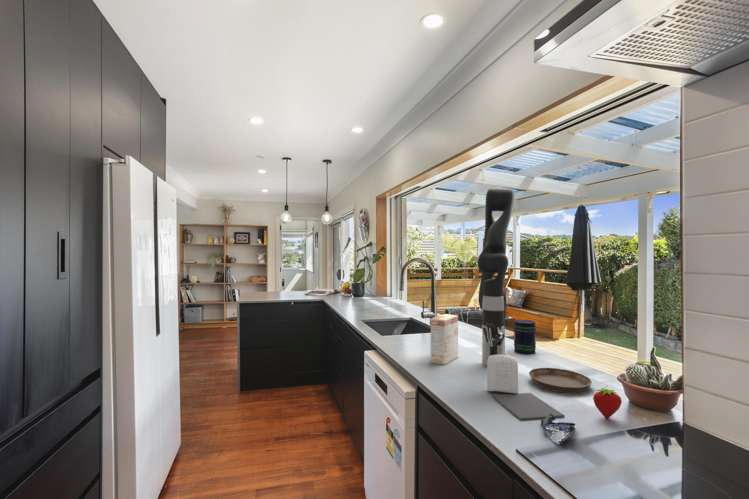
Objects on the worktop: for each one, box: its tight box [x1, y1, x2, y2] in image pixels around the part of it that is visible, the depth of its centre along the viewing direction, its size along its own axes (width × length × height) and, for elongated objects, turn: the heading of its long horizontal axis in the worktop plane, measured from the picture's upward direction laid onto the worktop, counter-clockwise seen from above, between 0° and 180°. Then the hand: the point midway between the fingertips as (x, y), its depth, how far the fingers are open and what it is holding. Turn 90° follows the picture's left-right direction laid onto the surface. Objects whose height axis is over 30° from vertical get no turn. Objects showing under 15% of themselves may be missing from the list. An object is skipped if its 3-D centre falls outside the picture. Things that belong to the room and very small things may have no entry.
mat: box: [491, 392, 565, 421], centre depth 120 cm, size 18×14×1 cm
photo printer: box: [486, 354, 519, 394], centre depth 132 cm, size 10×4×12 cm, turn 72°
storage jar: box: [513, 319, 537, 356], centre depth 185 cm, size 10×10×15 cm
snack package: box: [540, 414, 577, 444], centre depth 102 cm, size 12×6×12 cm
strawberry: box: [592, 384, 622, 419], centre depth 111 cm, size 6×8×10 cm
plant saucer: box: [528, 367, 592, 394], centre depth 139 cm, size 21×21×3 cm
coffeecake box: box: [430, 313, 459, 366], centre depth 171 cm, size 15×7×20 cm, turn 144°
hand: (493, 356), depth 137 cm, fingers closed
